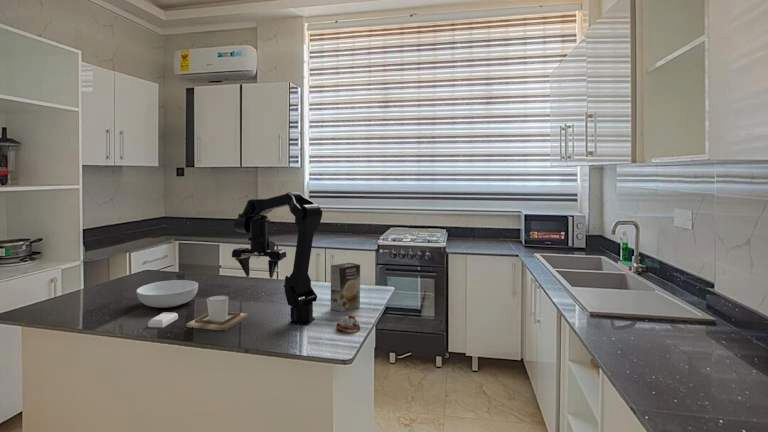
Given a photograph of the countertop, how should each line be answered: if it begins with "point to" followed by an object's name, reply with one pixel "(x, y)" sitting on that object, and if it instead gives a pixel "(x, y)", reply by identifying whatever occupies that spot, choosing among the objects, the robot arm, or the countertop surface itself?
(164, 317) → the soap bar
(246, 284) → the countertop surface
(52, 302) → the countertop surface
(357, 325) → the pastry
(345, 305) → the coffee box
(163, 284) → the serving bowl
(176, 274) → the countertop surface
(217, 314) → the white tapered cylinder
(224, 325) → the board
